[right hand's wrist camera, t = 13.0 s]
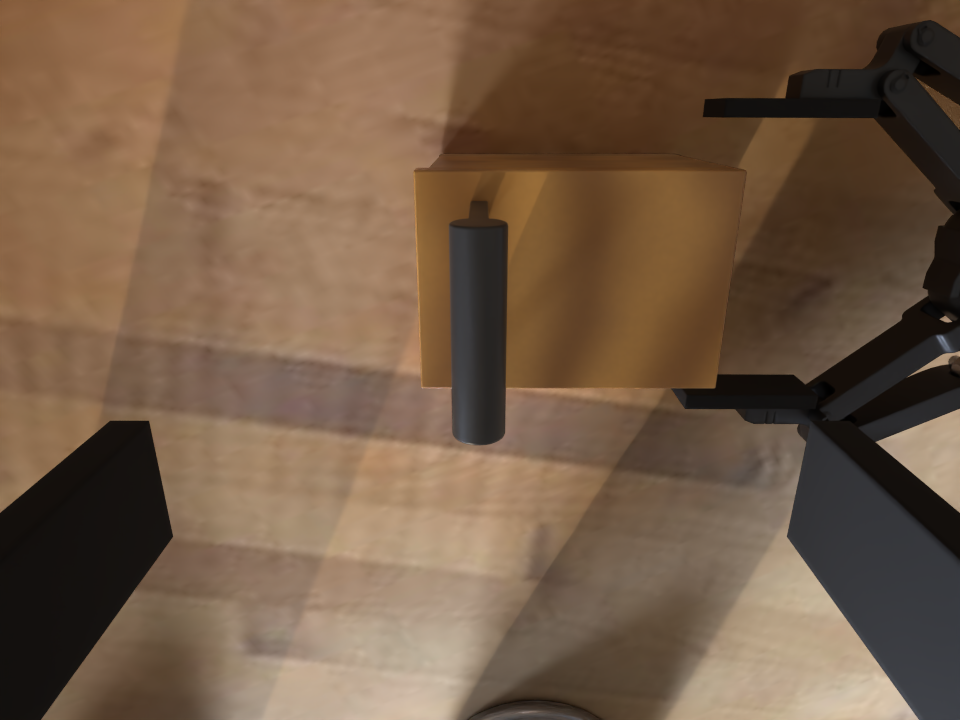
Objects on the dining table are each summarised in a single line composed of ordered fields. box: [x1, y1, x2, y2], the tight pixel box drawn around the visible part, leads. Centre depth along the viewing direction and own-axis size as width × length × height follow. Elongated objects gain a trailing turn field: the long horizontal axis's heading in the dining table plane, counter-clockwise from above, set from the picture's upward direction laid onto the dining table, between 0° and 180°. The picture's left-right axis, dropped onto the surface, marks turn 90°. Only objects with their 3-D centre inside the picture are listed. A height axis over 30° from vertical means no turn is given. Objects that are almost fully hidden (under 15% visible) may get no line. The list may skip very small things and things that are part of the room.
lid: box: [413, 168, 747, 445], centre depth 24 cm, size 13×10×8 cm
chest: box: [430, 154, 733, 168], centre depth 32 cm, size 13×10×9 cm
